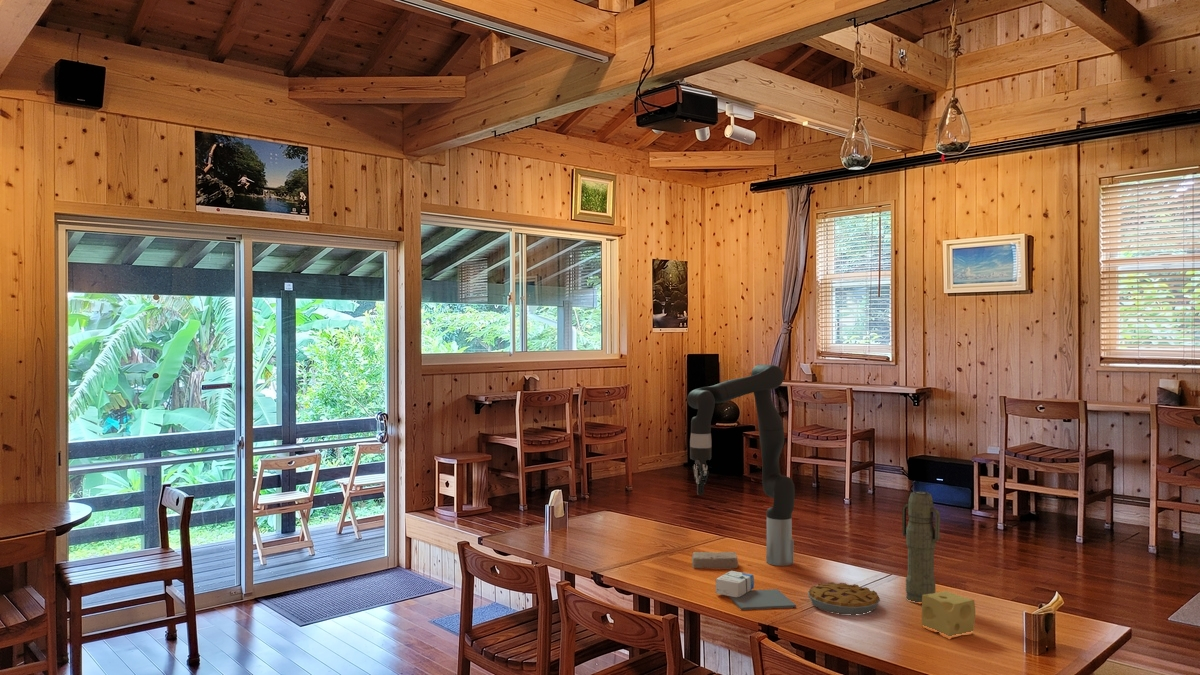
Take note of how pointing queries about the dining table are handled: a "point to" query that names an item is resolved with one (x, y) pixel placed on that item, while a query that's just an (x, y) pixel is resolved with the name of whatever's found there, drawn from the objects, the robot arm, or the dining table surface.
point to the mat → (762, 600)
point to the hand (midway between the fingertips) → (700, 494)
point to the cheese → (948, 613)
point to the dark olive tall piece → (920, 544)
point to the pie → (843, 598)
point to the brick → (715, 560)
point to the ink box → (734, 584)
